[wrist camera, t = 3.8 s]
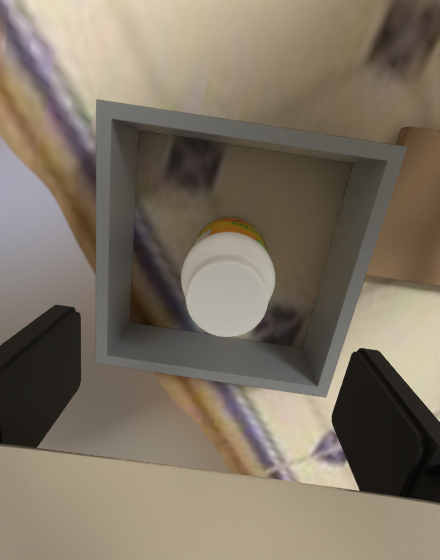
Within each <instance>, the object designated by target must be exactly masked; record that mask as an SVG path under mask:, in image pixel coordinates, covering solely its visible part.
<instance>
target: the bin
mask: <svg viewBox="0 0 440 560" xmlns="http://www.w3.org/2000/svg"><path fill="white" fill-rule="evenodd" d="M139 130H142V131H149V132H155V133H162V134H168V135H175V136H181V137H188V138H194V139H201V140H208V141H214V142H221V143H227V144H234V145H240V146H247V147H253V148H260V149H266V150H273V151H280V152H286V153H293V154H299V155H306V156H312V157H319V158H325V159H332V160H339V161H345V162H352V163H353V167H352V171H351V174H350V178H349V182H348V185H347V189H346V193H345V196H344V200H343V204H342V207H341V211H340V214H339V218H338V222H337V225H336V229H335V233H334V236H333V240H332V244H331V247H330V251H329V255H328V258H327V262H326V266H325V269H324V273H323V277H322V280H321V284H320V288H319V291H318V295H317V298H316V302H315V306H314V309H313V313H312V317H311V320H310V324H309V328H308V331H307V335H306V339H305V342H304V346H303V348H299V347H293V346H286V345H279V344H272V343H266V342H259V341H252V340H246V339H239V338H232V337H220V336H215V335H212V334H205V333H199V332H192V331H185V330H178V329H172V328H165V327H158V326H152V325H145V324H138V323H131V322H130V307H131V286H132V264H133V243H134V221H135V200H136V178H137V157H138V135H139ZM406 150H407V147H404V146H398V145H391V144H385V143H378V142H372V141H365V140H359V139H352V138H346V137H339V136H332V135H326V134H319V133H313V132H306V131H300V130H293V129H287V128H280V127H274V126H267V125H261V124H254V123H248V122H241V121H235V120H228V119H222V118H215V117H208V116H202V115H195V114H189V113H182V112H176V111H169V110H163V109H156V108H150V107H143V106H137V105H130V104H124V103H117V102H111V101H104V100H97V99H96V364H104V365H110V366H116V367H124V368H130V369H137V370H143V371H150V372H157V373H164V374H170V375H177V376H184V377H191V378H197V379H204V380H211V381H218V382H224V383H231V384H238V385H245V386H251V387H258V388H265V389H272V390H279V391H285V392H292V393H299V394H306V395H312V396H319V397H326V396H327V393H328V390H329V387H330V384H331V381H332V378H333V375H334V372H335V368H336V365H337V362H338V359H339V356H340V353H341V350H342V347H343V344H344V341H345V338H346V335H347V332H348V328H349V325H350V322H351V319H352V316H353V313H354V310H355V307H356V304H357V301H358V298H359V295H360V292H361V288H362V285H363V282H364V279H365V276H366V273H367V270H368V267H369V264H370V261H371V258H372V255H373V252H374V248H375V245H376V242H377V239H378V236H379V233H380V230H381V227H382V224H383V221H384V218H385V215H386V212H387V208H388V205H389V202H390V199H391V196H392V193H393V190H394V187H395V184H396V181H397V178H398V175H399V172H400V168H401V165H402V162H403V159H404V156H405V153H406Z"/></svg>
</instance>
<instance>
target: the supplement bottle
mask: <svg viewBox="0 0 440 560" xmlns="http://www.w3.org/2000/svg"><path fill="white" fill-rule="evenodd" d="M181 285H182V290H183V293H184V295H185V298H186V306H187V310H188V312H189V315H190V316H191V318H192V320H193V321H194V322H195V323H196V324H197V325H198V326H199V327H200V328H201V329H203V330H204V331H206V332H208V333H210V334H212V335H215V336H220V337H235V336H239V335H242V334H245V333H247V332H249V331H250V330H252V329H253V328H255V327H256V326H257V325H258V324H259V323H260V321H261V320H262V318H263V317H264V315H265V313H266V310H267V305H268V302H269V300H270V299H271V296H272V294H273V291H274V287H275V271H274V267H273V263H272V260H271V258H270V256H269V253H268V251H267V248H266V245H265V243H264V240H263V238H262V236H261V234H260V233H259V231H258V230H257V229H256V228H255V227H254V226H253V225H252V224H251V223H249V222H248V221H246V220H244V219H241V218H237V217H223V218H219V219H216V220H214V221H213V222H211V223H209V224H208V225H207V226H206V227H205V228H204V229H203V230H202V231H201V233H200V234H199V236H198V237H197V239H196V241H195V243H194V244H193V246H192V248H191V250H190V251H189V253H188V255H187V257H186V259H185V262H184V264H183V268H182V273H181Z"/></svg>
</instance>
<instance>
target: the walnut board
mask: <svg viewBox="0 0 440 560" xmlns="http://www.w3.org/2000/svg"><path fill="white" fill-rule="evenodd" d="M397 145H398V146H404V147H407V150H406V153H405V156H404V159H403V162H402V165H401V168H400V172H399V175H398V178H397V181H396V184H395V187H394V190H393V193H392V196H391V199H390V202H389V205H388V208H387V212H386V215H385V218H384V221H383V224H382V227H381V230H380V233H379V236H378V239H377V242H376V245H375V248H374V252H373V255H372V258H371V261H370V264H369V267H368V270H367V273H366V275H370V276H377V277H384V278H390V279H397V280H403V281H410V282H417V283H423V284H430V285H437V286H440V131H435V130H429V129H422V128H416V127H406V128H402V129H401V132H400V136H399V139H398V142H397Z"/></svg>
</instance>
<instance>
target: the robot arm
mask: <svg viewBox="0 0 440 560" xmlns="http://www.w3.org/2000/svg"><path fill="white" fill-rule="evenodd" d="M80 382H81V317H80V313H79V312H76V310H75V308H74V307H68V306H61V305H54V306H53V307H52V308H50V309H49V310H47V311H46V312H45V313H44V314H42V315H41V316H40V317H38V318H37V319H35V320H34V321H33V322H31V323H30V324H29V325H27V326H26V327H25V328H23V329H22V330H21V331H19V332H18V333H17V334H15V335H14V336H13V337H11V338H10V339H9V340H7V341H6V342H4V343H3V344H2V345H0V560H440V422H439V421H438V420H437V418H436V417H435V416H434V415H433V414H432V412H431V411H430V410H429V409H428V408H427V407H426V405H425V404H424V403H423V402H422V401H421V400H420V398H419V397H418V396H417V395H416V394H415V393H414V391H413V390H412V389H411V388H410V387H409V386H408V384H407V383H406V382H405V381H404V380H403V378H402V377H401V376H400V375H399V374H398V373H397V371H396V370H395V369H394V368H393V367H392V366H391V364H390V363H389V362H388V361H387V360H386V359H385V357H384V356H383V355H382V354H381V353H380V352H379V351H377V350H371V349H364V348H360V349H358V351H357V352H353V353H352V355H351V358H350V361H349V364H348V367H347V370H346V373H345V376H344V379H343V382H342V385H341V388H340V392H339V395H338V398H337V401H336V404H335V407H334V410H333V413H332V424H333V427H334V430H335V432H336V434H337V437H338V439H339V442H340V444H341V446H342V449H343V451H344V454H345V456H346V459H347V461H348V463H349V466H350V468H351V471H352V473H353V475H354V478H355V480H356V483H357V485H358V488H359V490H360V491H357V490H349V489H342V488H335V487H328V486H321V485H314V484H307V483H299V482H292V481H285V480H278V479H271V478H263V477H256V476H248V475H241V474H233V473H226V472H218V471H210V470H204V469H196V468H188V467H181V466H173V465H165V464H158V463H150V462H142V461H135V460H127V459H119V458H111V457H103V456H95V455H87V454H80V453H72V452H64V451H55V450H48V449H40V448H37V447H38V445H39V444H40V442H41V441H42V440H43V438H44V437H45V435H46V434H47V432H48V431H49V430H50V428H51V427H52V425H53V424H54V423H55V421H56V420H57V418H58V417H59V416H60V414H61V413H62V411H63V410H64V408H65V407H66V405H67V404H68V403H69V401H70V400H71V398H72V397H73V396H74V394H75V393H76V392H77V390H78V388H79V386H80Z"/></svg>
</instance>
